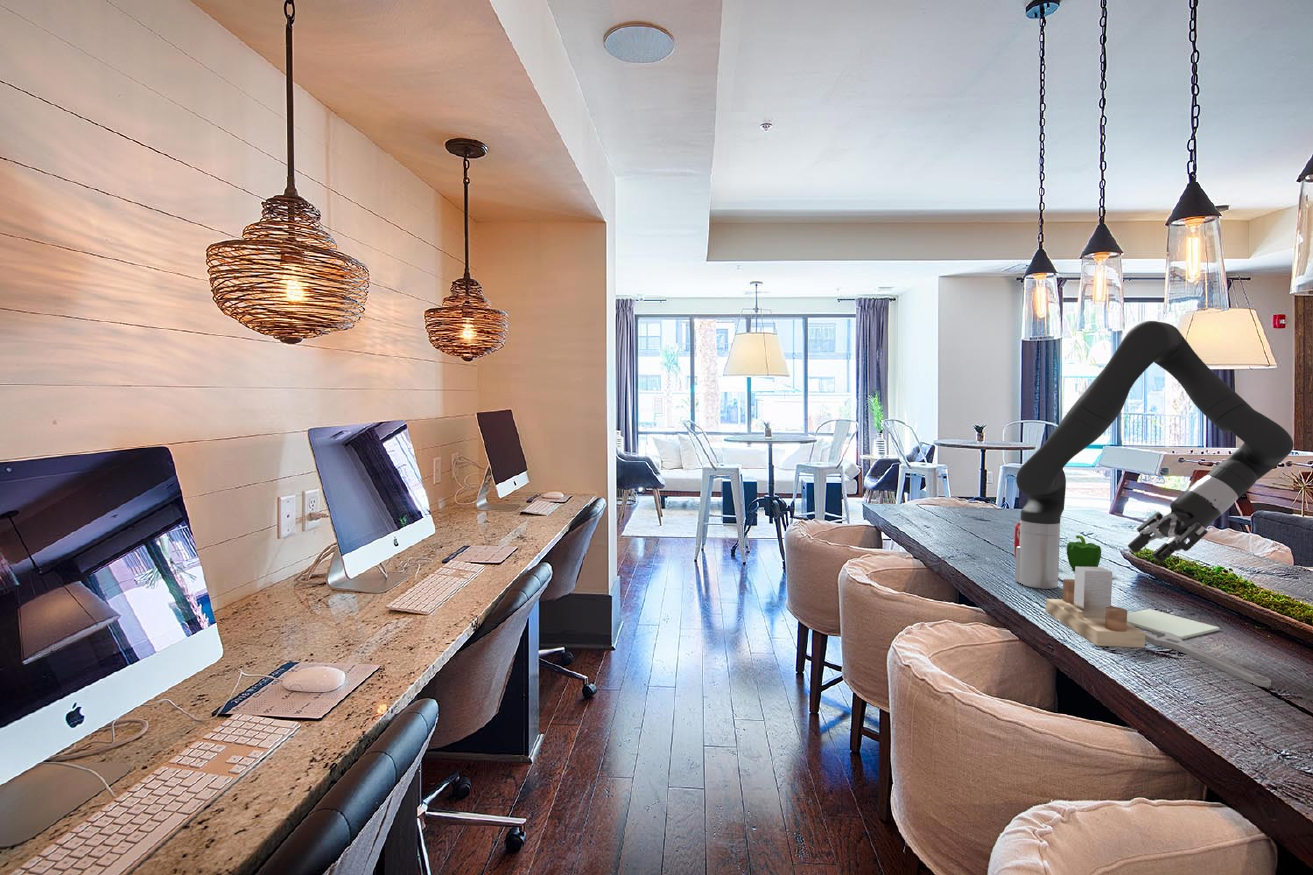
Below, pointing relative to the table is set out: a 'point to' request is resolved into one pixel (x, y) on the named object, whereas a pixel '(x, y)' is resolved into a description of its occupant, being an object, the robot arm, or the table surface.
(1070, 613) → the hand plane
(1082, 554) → the bell pepper
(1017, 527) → the soda can
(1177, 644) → the adjustable wrench
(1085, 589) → the grey block
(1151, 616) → the mat
